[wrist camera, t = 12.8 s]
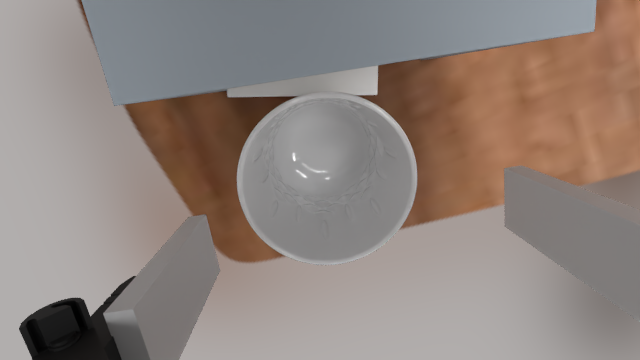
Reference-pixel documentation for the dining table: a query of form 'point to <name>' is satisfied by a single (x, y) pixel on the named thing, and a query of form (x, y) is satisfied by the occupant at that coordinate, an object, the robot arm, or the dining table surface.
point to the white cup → (327, 178)
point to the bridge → (301, 37)
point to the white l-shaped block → (315, 84)
